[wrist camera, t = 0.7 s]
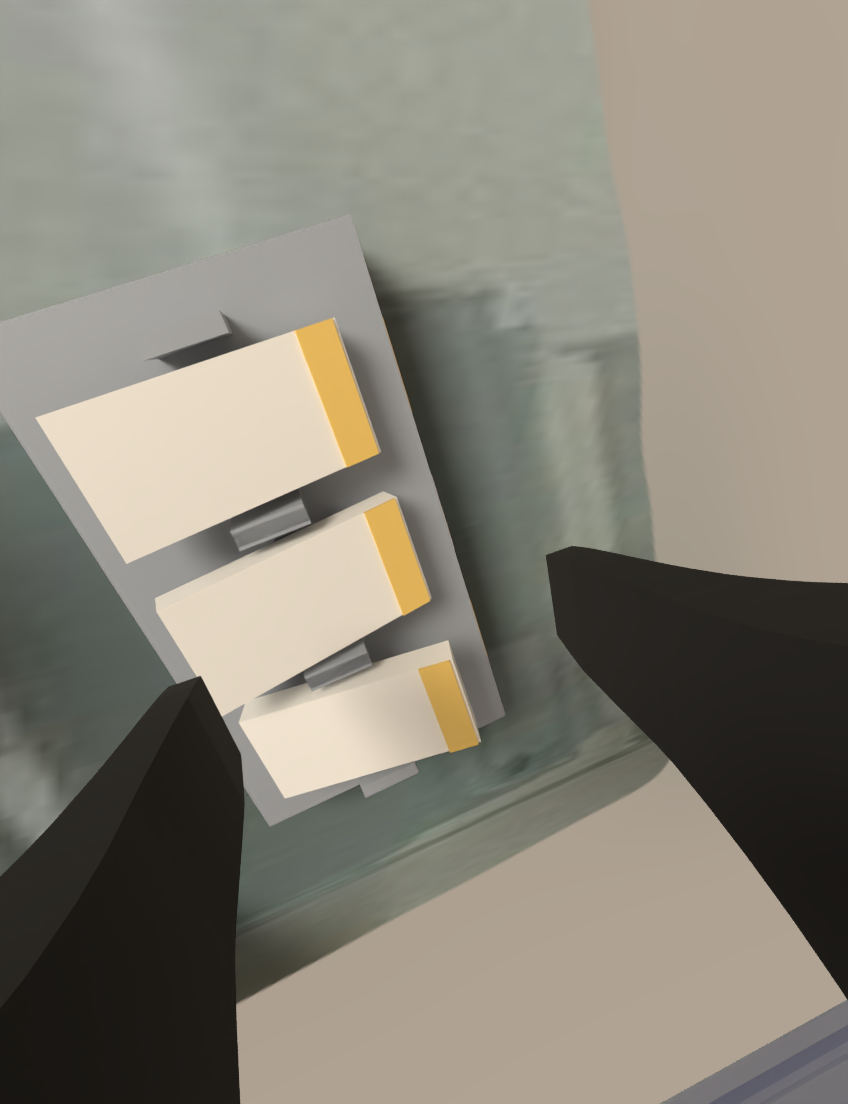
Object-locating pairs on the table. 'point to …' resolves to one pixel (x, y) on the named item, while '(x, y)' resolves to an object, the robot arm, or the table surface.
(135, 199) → the table surface
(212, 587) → the rocker
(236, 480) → the rocker
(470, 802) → the table surface
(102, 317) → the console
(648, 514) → the table surface
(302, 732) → the block
